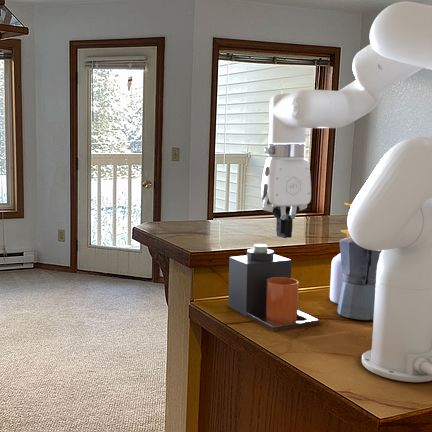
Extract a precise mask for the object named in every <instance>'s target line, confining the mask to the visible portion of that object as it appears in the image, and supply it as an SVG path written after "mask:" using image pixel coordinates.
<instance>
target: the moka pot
mask: <svg viewBox="0 0 432 432" xmlns="http://www.w3.org/2000/svg"><path fill="white" fill-rule="evenodd" d="M339 250H340V253H341V266H342V272H343V280H344V282H343V284H342V290H341V294H340V299H339V304H337V308H336V309H337V310H336V312H337V314H338V316H339V315H340V316H341V317H344V318H346V319H352V320H357V321H373V319H374V303H375V287H376V272H377V265H378V260H379V257H380V254H381V251H382V250H380V251H374V250H368V249H365V248H362V247H360V246H359V245H357V244H356V243H355V242H354V241H353V239H352V238H351V237H344V238H341V239H340V240H339Z"/></svg>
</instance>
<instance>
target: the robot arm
mask: <svg viewBox="0 0 432 432" xmlns="http://www.w3.org/2000/svg"><path fill="white" fill-rule="evenodd" d="M422 69H427V70H430V71H432V5H431V4H425V3H420V2H415V1H405V0H404V1H398V2H394V3H391V4H390V5H388V6H387V7H385V8H384V9H382V10H381V12H379V13H378V14H377V16H376V17H375V19H374V20H373V22H372V24H371V27H370V30H369V44H368V45H366V46H365V47H363V48H362V49H360V50H359V51H358V52H357V53H356V54H355V55H354V57H353V60H352V72H353V75H354V77H355V80H353V81H352V82H350V83H348V84H347V85H346V86H344V87H342V88H340V89H338V90H330V89H329V90H328V89H327V90H326V89H300V90H296V91H294V92H291V93H278V94H274V95H272V96H271V98H270V100H269V121H268V122H269V123H268V124H269V126H268V127H269V129H268V131H269V132H268V147H267V146H266V147H265V148H264V151H263V152H264V153H265V154H266V155H267V157H268V158H266V159H265V164H264V168H263V173H262V181H261V202H262V210H263V211H265V212H270V213H271V214H272V215H273V218H274V219H276V223H275V224H276V227H275V228H276V229H275V232H276V236H277V237H278V238H283V239H291V238H292V237H293V236H292V235H293V220H295V219H296V216H297V214H298V213H299V212H300V211H303V210H306V209H307V208H308V204H310V203H311V200H312V180H311V170H310V162H309V159H308V158H305V157H306V155H305V154H306V131H307V129H338V128H339V129H340V128H343V127H345V126H347V125H350V124H352V123H354V122H355V121H357V120H359V119H360V118H362V117H364V116H366V115H367V114H369V113H371V112H372V111H373V110H374V109H375V108H376V107H377V106H378V105H379V103H380V102H381V100H382V99H383V97H384V95H385V92H386V91H388V90H390V89H391V88H393V87H395V86H397V85H398V84H399V83H401V82H403V81H404V80H406V79H407V78H409V77H411V76H413V75H414V74H416V73H417V72H420V71H421V70H422ZM351 204H352V206H351V207H350V209H349V210H348V213H347V219H346V220H347V221H346V224H347V230H348V231H349V234H350V236H351V238H352V239H353V241H354V242H355V243H356V244H357V245H359V246H360V247H362V248H365V249H368V250H374V251H380V250H382V251H381V254H380V257H379V260H378V265H377V272H376V287H375V303H374V319H373V320H372V321H373V322H372V337H371V349H369V350H367V351H365V352H363V353H362V355H361V364H362V366H363V367H364V368H365V369H367V370H368V371H369V372H371V373H373V374H375V375H377V376H380V377H383V378H386V379H389V380H394V381H399V382H405V383H426V382H427V383H428V382H431V381H432V136H417V137H416V136H415V137H410V138H407V139H404V140H401V141H399V142H398V143H396V144H395V145H393V146H392V147H391V148H390V149H389V150H388V151H387V152H386V153H385V154H384V155H383V157H382V158H381V159H380V161H379V162H378V164H376V167H375V168H374V170H373V171H372V173H371V174H370V176H369V177H368V179H367V180H366V182H365V183H364V185H363V186H362V188H361V189H360V190H359V192H358V194H357V195H356V197H355V198H354V200H353V202H352V203H351Z"/></svg>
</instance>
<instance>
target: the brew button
mask: <svg viewBox="0 0 432 432" xmlns="http://www.w3.org/2000/svg"><path fill="white" fill-rule="evenodd" d="M253 249H254V252H258V253H266V252H267V249H269V248H268V244H265V243H255V244H253Z"/></svg>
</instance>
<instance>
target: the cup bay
mask: <svg viewBox="0 0 432 432" xmlns="http://www.w3.org/2000/svg"><path fill="white" fill-rule="evenodd" d="M245 317H247V318H248V319H250V320H251V321H254V322H256V323H257V324H259V325H261V326H263V327H265V328H266V329H268V330H270V331H272V332H277V331H282V330H289V329H295V328H304V327H309V326H317V325H320V319H318V318H316V317H314V316H311V315H309V314H307V313H305V312H303V311H301V310H299V309H298V314H297V322H290V323H284V324H277V323H275V322H273V321H271V320H269V319H267V318H266V316H263V315H262V314H258V313H256V312H254V311H253V312H246V316H245Z"/></svg>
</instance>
